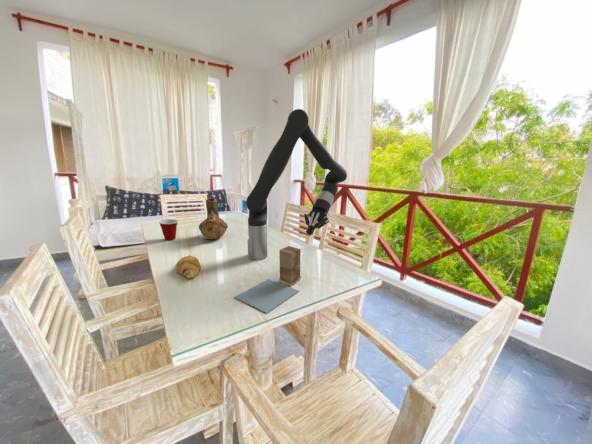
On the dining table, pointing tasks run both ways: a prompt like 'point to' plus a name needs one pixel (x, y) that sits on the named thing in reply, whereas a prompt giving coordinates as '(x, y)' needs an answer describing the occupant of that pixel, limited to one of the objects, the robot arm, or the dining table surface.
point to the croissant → (188, 266)
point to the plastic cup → (169, 228)
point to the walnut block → (290, 265)
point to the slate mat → (267, 295)
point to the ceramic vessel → (213, 221)
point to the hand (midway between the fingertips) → (308, 234)
